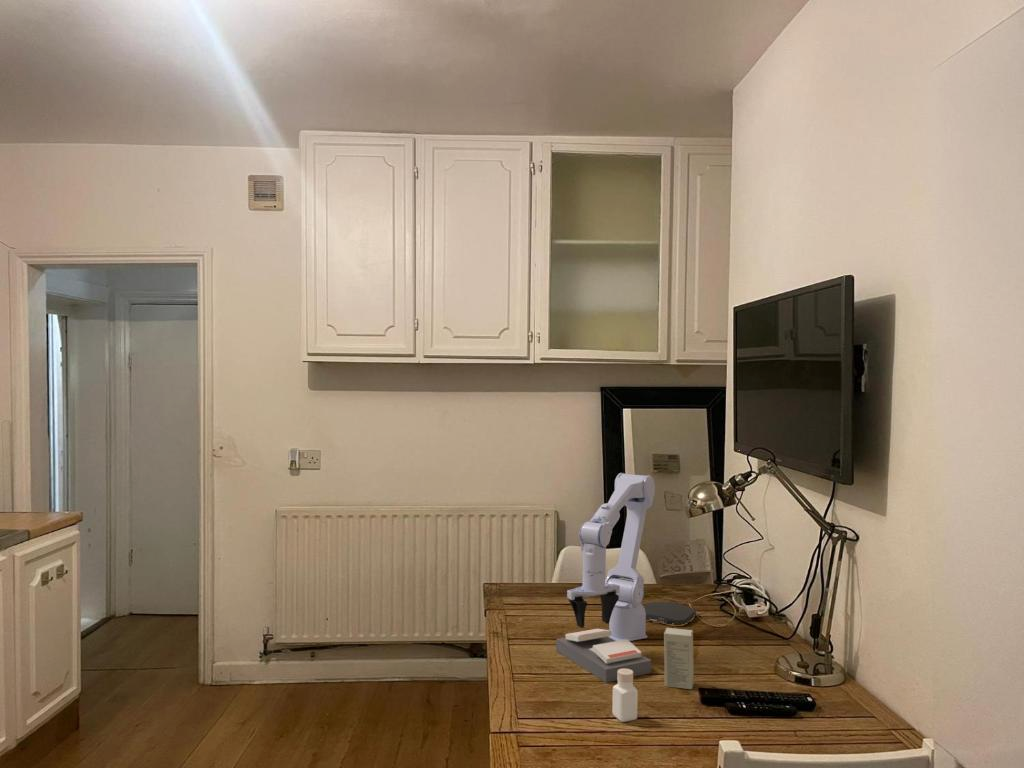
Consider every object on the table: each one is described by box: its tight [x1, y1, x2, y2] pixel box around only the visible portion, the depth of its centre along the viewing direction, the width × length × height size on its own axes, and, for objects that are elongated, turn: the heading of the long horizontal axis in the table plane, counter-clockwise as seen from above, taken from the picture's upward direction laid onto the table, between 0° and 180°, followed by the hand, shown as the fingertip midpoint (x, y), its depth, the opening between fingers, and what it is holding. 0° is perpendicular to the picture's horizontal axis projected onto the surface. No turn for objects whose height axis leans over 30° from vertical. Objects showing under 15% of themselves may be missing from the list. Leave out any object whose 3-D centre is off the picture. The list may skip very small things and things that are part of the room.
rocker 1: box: [565, 628, 612, 642], centre depth 184 cm, size 10×6×1 cm, turn 118°
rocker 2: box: [592, 639, 642, 664], centre depth 173 cm, size 10×6×1 cm, turn 118°
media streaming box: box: [642, 601, 697, 625], centre depth 214 cm, size 15×15×3 cm
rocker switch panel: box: [555, 636, 652, 683], centre depth 179 cm, size 13×22×3 cm, turn 28°
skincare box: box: [663, 627, 695, 690], centre depth 166 cm, size 6×4×12 cm
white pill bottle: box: [612, 669, 639, 723], centre depth 149 cm, size 4×4×10 cm
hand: (593, 624), depth 182 cm, fingers open, 7 cm apart
